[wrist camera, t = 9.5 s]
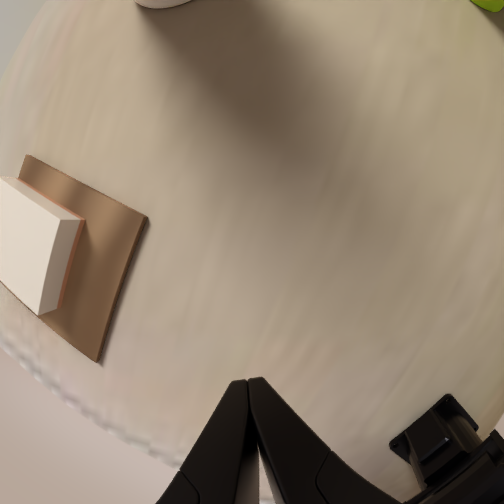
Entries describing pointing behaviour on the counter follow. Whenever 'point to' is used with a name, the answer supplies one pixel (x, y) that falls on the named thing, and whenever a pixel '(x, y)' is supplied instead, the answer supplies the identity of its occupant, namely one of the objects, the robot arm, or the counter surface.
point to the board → (88, 256)
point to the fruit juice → (160, 3)
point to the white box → (35, 244)
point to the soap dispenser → (490, 4)
